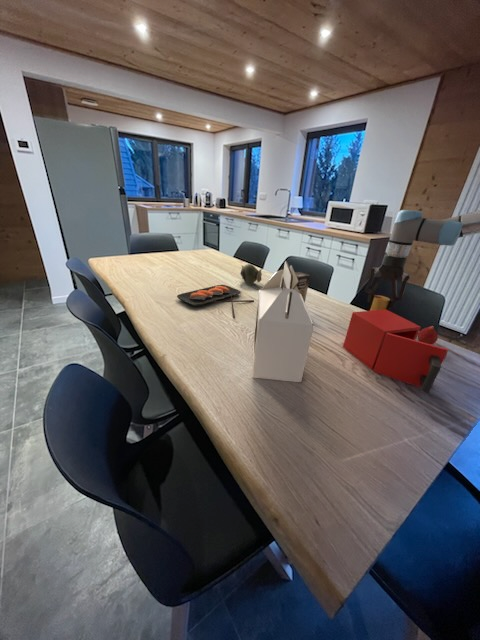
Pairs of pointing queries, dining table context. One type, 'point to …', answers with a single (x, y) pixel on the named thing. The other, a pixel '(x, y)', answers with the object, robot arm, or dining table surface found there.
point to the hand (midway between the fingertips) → (377, 312)
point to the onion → (428, 335)
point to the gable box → (281, 329)
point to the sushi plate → (210, 295)
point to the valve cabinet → (375, 333)
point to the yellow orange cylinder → (379, 303)
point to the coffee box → (302, 283)
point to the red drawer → (410, 361)
